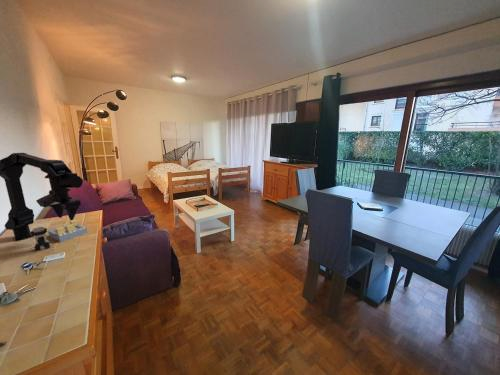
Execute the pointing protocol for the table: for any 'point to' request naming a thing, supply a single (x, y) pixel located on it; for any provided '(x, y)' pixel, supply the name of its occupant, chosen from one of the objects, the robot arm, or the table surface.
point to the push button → (40, 238)
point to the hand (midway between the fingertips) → (66, 218)
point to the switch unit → (68, 233)
